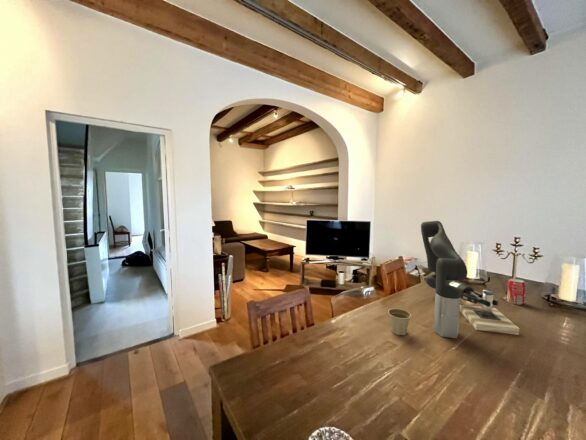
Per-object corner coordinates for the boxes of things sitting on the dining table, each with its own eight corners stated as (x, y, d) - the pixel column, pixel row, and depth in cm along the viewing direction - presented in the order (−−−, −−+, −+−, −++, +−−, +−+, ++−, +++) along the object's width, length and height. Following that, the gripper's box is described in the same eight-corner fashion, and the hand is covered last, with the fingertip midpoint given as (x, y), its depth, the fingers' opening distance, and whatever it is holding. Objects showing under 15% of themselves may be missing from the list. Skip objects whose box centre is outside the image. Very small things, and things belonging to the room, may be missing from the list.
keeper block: (518, 334, 108) (519, 327, 107) (476, 329, 112) (476, 322, 112) (494, 313, 127) (495, 307, 126) (459, 310, 131) (459, 304, 131)
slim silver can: (494, 321, 116) (496, 292, 115) (482, 320, 118) (485, 291, 116) (489, 317, 121) (491, 289, 119) (478, 315, 122) (480, 288, 121)
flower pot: (386, 334, 108) (386, 315, 107) (388, 324, 117) (389, 306, 116) (409, 340, 104) (410, 320, 103) (410, 329, 112) (411, 311, 111)
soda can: (527, 305, 137) (529, 282, 135) (514, 305, 137) (516, 282, 136) (516, 300, 144) (517, 278, 142) (503, 299, 144) (505, 278, 143)
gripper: (450, 284, 130) (482, 298, 113) (471, 282, 134) (505, 294, 117) (449, 298, 131) (481, 313, 114) (470, 295, 134) (504, 310, 118)
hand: (493, 304), depth 116 cm, fingers closed on slim silver can, 4 cm apart
